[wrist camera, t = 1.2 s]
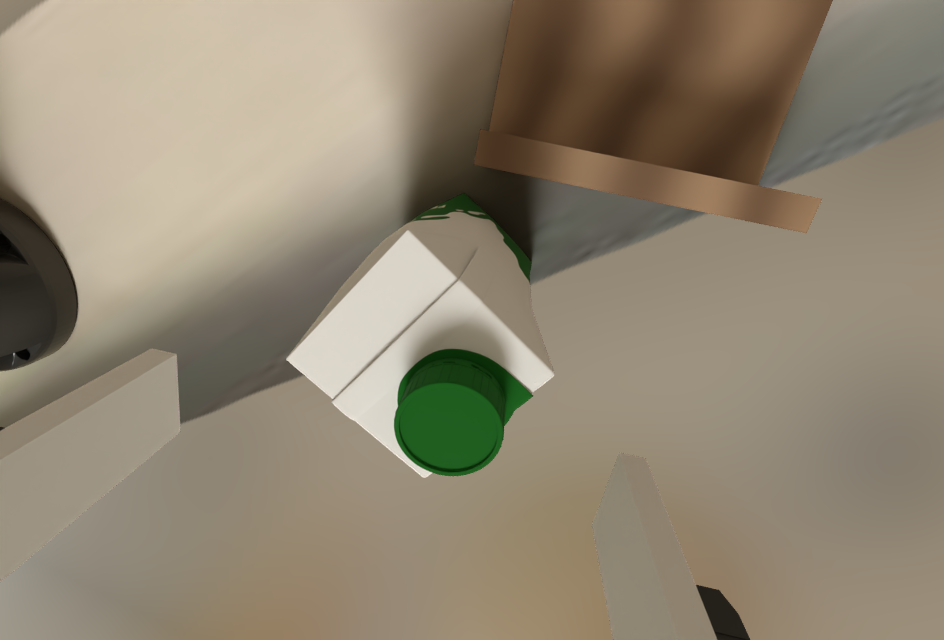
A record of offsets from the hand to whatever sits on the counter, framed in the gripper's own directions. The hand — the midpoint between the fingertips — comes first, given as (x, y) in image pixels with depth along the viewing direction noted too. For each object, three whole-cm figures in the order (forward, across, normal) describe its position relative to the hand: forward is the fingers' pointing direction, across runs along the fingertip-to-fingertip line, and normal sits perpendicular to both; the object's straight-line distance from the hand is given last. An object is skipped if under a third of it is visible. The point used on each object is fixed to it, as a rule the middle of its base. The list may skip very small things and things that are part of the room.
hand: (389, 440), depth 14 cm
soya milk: (+23, 0, 0) cm, 23 cm away
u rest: (+23, +9, +15) cm, 29 cm away
